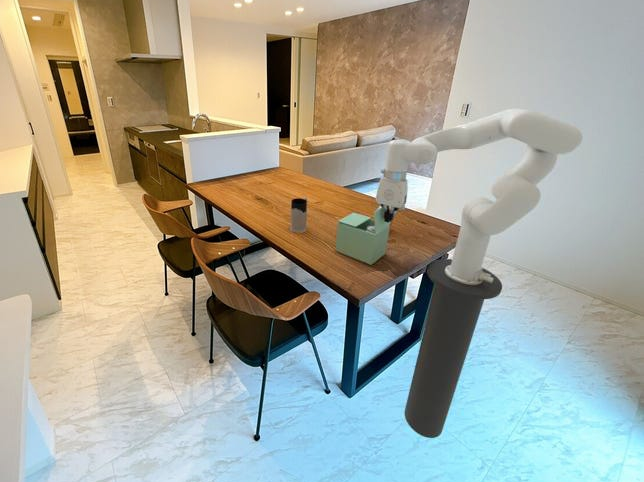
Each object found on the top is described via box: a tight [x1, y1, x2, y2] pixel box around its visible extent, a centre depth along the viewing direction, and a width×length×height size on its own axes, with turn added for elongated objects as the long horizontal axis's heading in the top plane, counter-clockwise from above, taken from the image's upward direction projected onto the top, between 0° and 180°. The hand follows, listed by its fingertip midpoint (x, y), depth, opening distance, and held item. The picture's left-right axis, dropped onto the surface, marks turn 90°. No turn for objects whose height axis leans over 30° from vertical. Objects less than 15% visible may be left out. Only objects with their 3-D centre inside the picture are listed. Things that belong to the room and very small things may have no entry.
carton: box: [335, 212, 391, 266], centre depth 125 cm, size 17×13×14 cm
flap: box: [373, 208, 391, 233], centre depth 116 cm, size 8×13×1 cm
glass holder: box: [289, 197, 308, 234], centre depth 148 cm, size 9×14×15 cm, turn 152°
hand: (387, 221), depth 114 cm, fingers closed
